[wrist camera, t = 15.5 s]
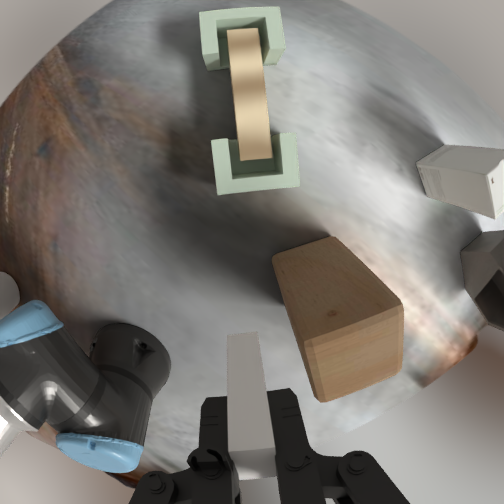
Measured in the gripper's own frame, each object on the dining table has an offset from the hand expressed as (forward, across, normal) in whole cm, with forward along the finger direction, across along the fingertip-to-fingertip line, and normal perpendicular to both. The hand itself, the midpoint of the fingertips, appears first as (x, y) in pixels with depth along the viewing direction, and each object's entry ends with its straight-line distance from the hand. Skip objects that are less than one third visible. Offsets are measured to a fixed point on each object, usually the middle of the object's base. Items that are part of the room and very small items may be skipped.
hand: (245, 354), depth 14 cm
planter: (+27, +47, -13) cm, 56 cm away
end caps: (+26, +3, +16) cm, 31 cm away
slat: (+25, +3, +16) cm, 30 cm away
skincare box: (+27, +33, +6) cm, 43 cm away
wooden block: (+27, +10, -9) cm, 30 cm away
